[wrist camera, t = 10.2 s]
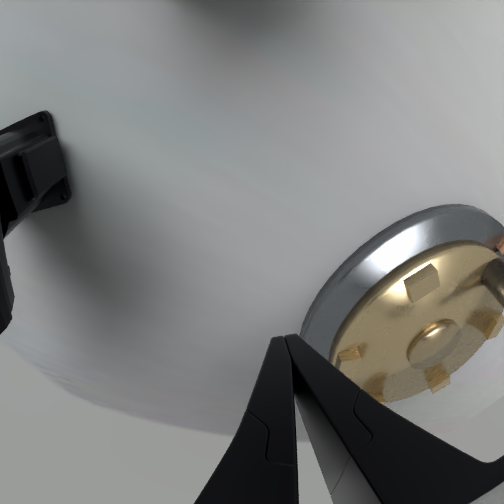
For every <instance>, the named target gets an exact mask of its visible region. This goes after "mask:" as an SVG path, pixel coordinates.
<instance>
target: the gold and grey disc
mask: <svg viewBox="0 0 504 504" xmlns="http://www.w3.org/2000/svg"><path fill="white" fill-rule="evenodd" d="M456 240H473V241H477V242H480V243H483V244H485V245H487V246H488V247H489V248H490V249H491V250H493V251H494V252H495V253H496V254H497V255H498V256H499V257H500V258H501V259H502V260H503V261H504V227H503V226H502V224H501V223H499V222H498V221H497V220H495V219H494V218H493V217H491V216H490V215H489V214H487V213H486V212H484V211H483V210H481V209H478V208H476V207H473V206H468V205H462V204H450V205H442V206H437V207H431V208H428V209H425V210H422V211H419V212H417V213H414V214H412V215H410V216H408V217H405V218H403V219H401V220H399V221H397V222H395V223H394V224H392V225H391V226H389V227H387V228H386V229H384V230H382V231H381V232H379V233H378V234H376V235H375V236H374V237H372V238H371V239H370V240H369V241H367V242H366V243H365V244H363V245H362V246H361V247H360V248H358V249H357V250H356V251H355V252H354V253H353V254H352V255H351V256H350V257H349V258H348V259H347V260H345V261H344V262H343V264H342V265H341V266H340V267H339V268H338V269H337V270H336V271H335V272H334V274H333V275H332V276H331V277H330V278H329V279H328V281H327V282H326V284H325V285H324V286H323V288H322V289H321V290H320V292H319V293H318V295H317V296H316V298H315V300H314V301H313V303H312V305H311V307H310V308H309V311H308V313H307V315H306V318H305V320H304V322H303V325H302V329H301V333H300V337H301V338H302V339H303V340H304V341H306V342H307V343H308V344H309V345H310V346H311V347H313V348H314V349H315V350H316V351H317V352H318V353H320V354H321V355H322V356H323V357H324V358H326V359H327V360H328V359H329V352H330V348H331V345H332V341H333V339H334V337H335V335H336V333H337V330H338V328H339V327H340V325H341V324H342V322H343V320H344V319H345V317H346V316H347V314H348V313H349V312H350V311H351V309H352V308H353V307H354V305H355V304H356V303H357V302H358V301H359V300H360V299H361V298H362V297H363V295H364V294H365V293H366V292H367V291H368V290H369V289H370V288H372V287H373V286H374V285H375V284H376V283H377V282H378V281H379V280H380V279H381V278H383V277H384V276H385V275H387V274H388V273H389V272H390V271H392V270H393V269H394V268H396V267H397V266H399V265H400V264H402V263H403V262H405V261H406V260H408V259H409V258H411V257H413V256H415V255H417V254H418V253H420V252H422V251H424V250H427V249H429V248H431V247H433V246H436V245H439V244H442V243H446V242H450V241H456ZM328 361H329V360H328Z"/></svg>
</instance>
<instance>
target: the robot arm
mask: <svg viewBox="0 0 504 504" xmlns="http://www.w3.org/2000/svg"><path fill="white" fill-rule="evenodd" d="M42 115H43V116H44V117H45V120H44V122H43V121H42ZM65 174H66V169H65V165H64V162H63V158H62V154H61V151H60V147H59V143H58V139H57V138H56V137H55V133H54V129H53V124H52V120H51V115H50V113H49V112H48V111H46V110H45V111H41V112H38V113H36V114H34V115H31V116H29V117H27V118H25V119H23V120H21V121H18V122H16V123H14V124H12V125H10V126H8V127H6V128H4V129H2V130H0V334H1V333H2V332H3V331H4V330H5V329H6V328H7V326H8V325H9V323H10V321H11V320H12V314H11V311H12V308H13V303H14V297H15V296H14V292H13V287H12V283H11V278H10V275H11V273H10V268H9V266H8V264H7V258H6V253H5V247H4V241H3V239H4V238H5V237H6V236H7V235H8V234H9V233H10V232H11V231H12V230H13V229H14V228H15V227H16V226H17V225H18V224H19V223H20V222H21V221H22V220H23V219H24V218H25V217H26V216H28V215H29V214H30V213H32V212H36V211H39V210H43V209H46V208H50V207H53V206H57V205H61V204H64V203H67V202H68V201H69V200H70V198H71V191H70V188H69V185H68V181H67V178H66V175H65ZM62 193H64V194H65V195H66V198H64V197H63V196H62ZM294 397H295V400H296V403H297V406H298V408H299V411H300V414H301V417H302V419H303V422H304V425H305V428H306V430H307V433H308V436H309V439H310V441H311V444H312V447H313V449H314V452H315V455H316V458H317V460H318V463H319V466H320V468H321V471H322V474H323V477H324V479H325V482H326V485H327V487H328V490H329V493H330V495H331V498H332V501H333V504H504V455H503V456H502V457H500V458H499V459H497V460H496V461H494V462H489V463H486V462H481V461H479V460H477V459H475V458H473V457H472V456H470V455H468V454H466V453H464V452H462V451H460V450H459V449H457V448H455V447H453V446H451V445H450V444H448V443H446V442H444V441H443V440H441V439H439V438H437V437H436V436H434V435H432V434H430V433H429V432H427V431H425V430H424V429H422V428H420V427H418V426H417V425H415V424H413V423H412V422H410V421H408V420H407V419H405V418H403V417H402V416H400V415H398V414H397V413H395V412H393V411H392V410H390V409H389V408H387V407H386V406H384V405H383V404H381V403H380V402H379V401H377V400H376V399H375V398H373V397H372V396H371V395H369V394H368V393H367V392H366V391H365V390H363V389H361V388H360V387H359V386H358V385H357V384H356V383H354V382H353V381H352V380H351V379H350V378H348V377H347V376H346V375H345V374H343V373H342V372H341V371H340V370H339V369H337V368H336V367H335V366H334V365H333V364H332V363H330V362H329V361H328V360H327V359H326V358H324V357H323V356H322V355H321V354H320V353H318V352H317V351H316V350H315V349H314V348H313V347H311V346H310V345H309V344H308V343H307V342H306V341H304V340H303V339H302V338H301V337H300V336H299V335H297V334H290V335H285V337H284V336H278V337H273V338H271V341H270V344H269V346H268V349H267V352H266V355H265V358H264V361H263V364H262V367H261V370H260V372H259V375H258V378H257V381H256V384H255V386H254V389H253V392H252V395H251V397H250V400H249V403H248V406H247V408H246V411H245V413H244V416H243V418H242V421H241V423H240V426H239V428H238V430H237V433H236V435H235V436H234V438H233V440H232V442H231V444H230V446H229V448H228V449H227V451H226V453H225V454H224V456H223V458H222V459H221V461H220V463H219V464H218V466H217V468H216V469H215V471H214V473H213V474H212V476H211V477H210V479H209V481H208V482H207V484H206V485H205V487H204V489H203V490H202V492H201V493H200V495H199V496H198V498H197V499H196V501H195V503H194V504H299V494H298V464H297V441H296V421H295V403H294Z"/></svg>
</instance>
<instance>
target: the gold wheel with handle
mask: <svg viewBox="0 0 504 504" xmlns="http://www.w3.org/2000/svg"><path fill="white" fill-rule="evenodd" d="M503 309H504V261H503V260H502V259H501V258H500V257H499V256H498V255H497V254H496V253H495V252H494V251H493V250H491V249H490V248H489V247H488V246H487V245H485V244H483V243H480V242H477V241H473V240H456V241H450V242H446V243H442V244H439V245H436V246H433V247H431V248H429V249H427V250H424V251H422V252H420V253H418V254H417V255H415V256H413V257H411V258H409V259H408V260H406V261H405V262H403V263H402V264H400V265H399V266H397V267H396V268H394V269H393V270H392V271H390V272H389V273H388V274H387V275H385V276H384V277H383V278H381V279H380V280H379V281H378V282H377V283H376V284H375V285H374V286H373V287H372V288H370V289H369V290H368V291H367V292H366V293H365V294H364V295H363V297H362V298H361V299H360V300H359V301H358V302H357V303H356V304H355V305H354V307H353V308H352V309H351V311H350V312H349V313H348V314H347V316H346V317H345V319H344V320H343V322H342V324H341V325H340V327H339V328H338V330H337V333H336V335H335V337H334V339H333V341H332V345H331V348H330V352H329V359H328V360H329V362H330V363H332V364H333V365H334V366H335V367H336V368H337V369H339V370H340V371H341V372H342V373H343V374H345V375H346V376H347V377H348V378H350V379H351V380H352V381H353V382H354V383H356V384H357V385H358V386H359V387H360V388H361V389H363V390H365V391H366V392H367V393H368V394H369V395H371V396H372V397H373V398H375V399H376V400H377V401H379V402H380V403H381V404H383V405H384V404H385V403H389V402H394V401H398V400H401V399H405V398H408V397H410V396H413V395H415V394H418V393H420V392H422V391H424V390H426V389H428V388H430V390H431V392H432V394H433V393H435V392H437V391H438V390H440V389H442V388H443V387H445V386H446V385H448V384H450V376H449V375H451V374H452V373H453V372H455V371H456V370H457V369H458V368H460V367H461V366H462V365H463V364H464V363H465V362H466V361H468V360H469V359H470V358H471V357H472V356H473V355H474V354H475V352H476V351H477V350H478V349H479V348H480V347H481V346H482V344H483V343H484V342H485V341H486V339H487V340H488V339H491V338H493V337H496V336H497V335H498V333H499V332H500V330H501V328H502V326H503V325H504V316H503V315H502V312H503Z"/></svg>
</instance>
